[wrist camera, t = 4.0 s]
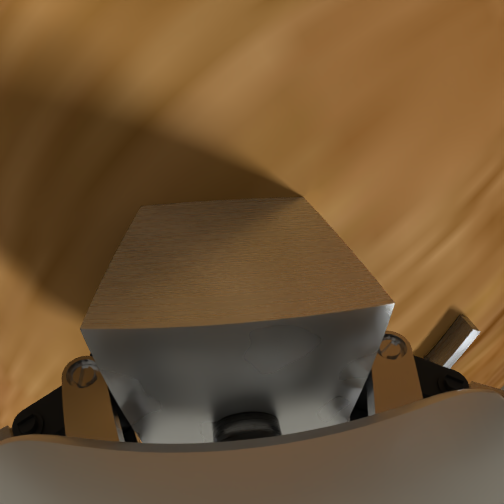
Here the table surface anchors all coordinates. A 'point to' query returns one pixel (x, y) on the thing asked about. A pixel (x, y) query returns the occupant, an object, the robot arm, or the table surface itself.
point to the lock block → (234, 321)
